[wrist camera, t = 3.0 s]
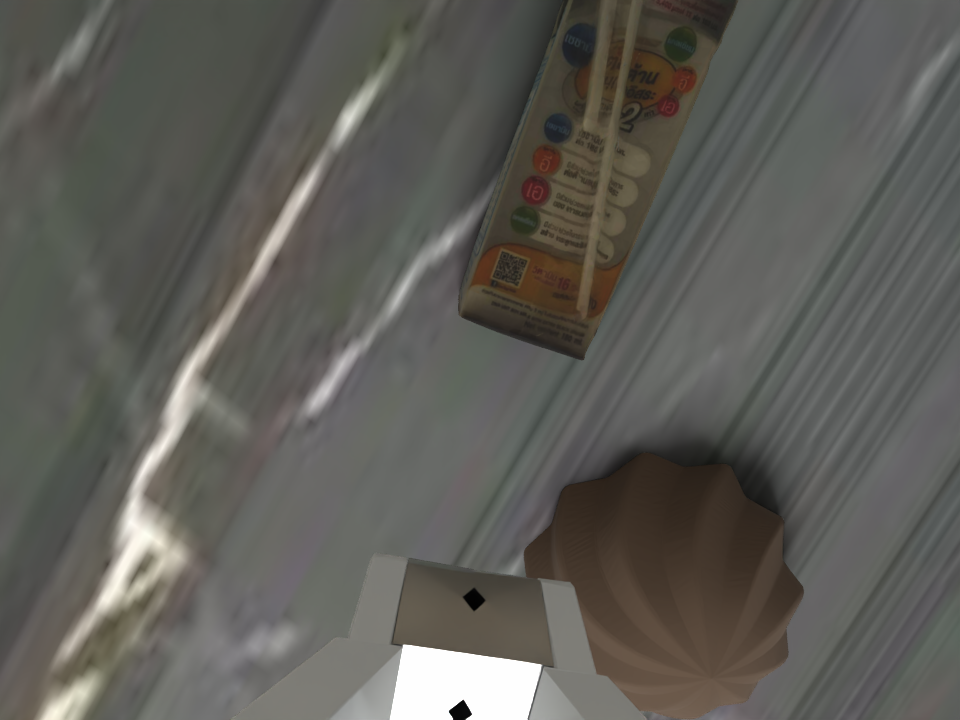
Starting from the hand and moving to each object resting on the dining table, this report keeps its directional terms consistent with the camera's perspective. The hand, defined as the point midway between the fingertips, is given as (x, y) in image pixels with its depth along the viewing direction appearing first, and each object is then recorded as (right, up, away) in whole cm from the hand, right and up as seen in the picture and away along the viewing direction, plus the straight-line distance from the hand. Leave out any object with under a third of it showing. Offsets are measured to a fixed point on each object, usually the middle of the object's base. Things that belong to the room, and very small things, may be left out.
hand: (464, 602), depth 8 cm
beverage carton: (+6, +15, +24) cm, 29 cm away
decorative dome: (+13, -12, +32) cm, 37 cm away
